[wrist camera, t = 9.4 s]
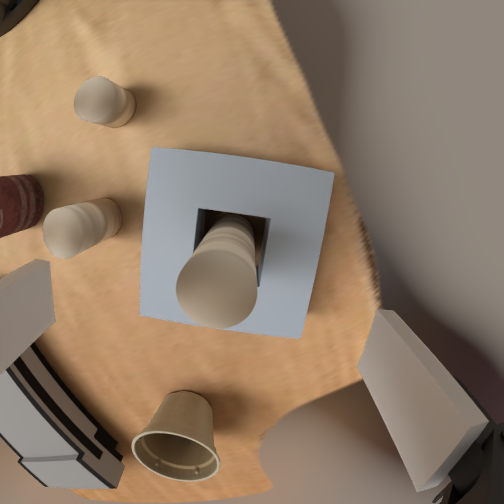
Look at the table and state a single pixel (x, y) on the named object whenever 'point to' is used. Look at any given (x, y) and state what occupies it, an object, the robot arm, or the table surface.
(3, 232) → the can
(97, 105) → the dowel short
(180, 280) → the dowel long
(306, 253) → the hole block
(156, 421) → the flower pot
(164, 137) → the table surface
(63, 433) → the game console
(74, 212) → the dowel medium
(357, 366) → the robot arm
